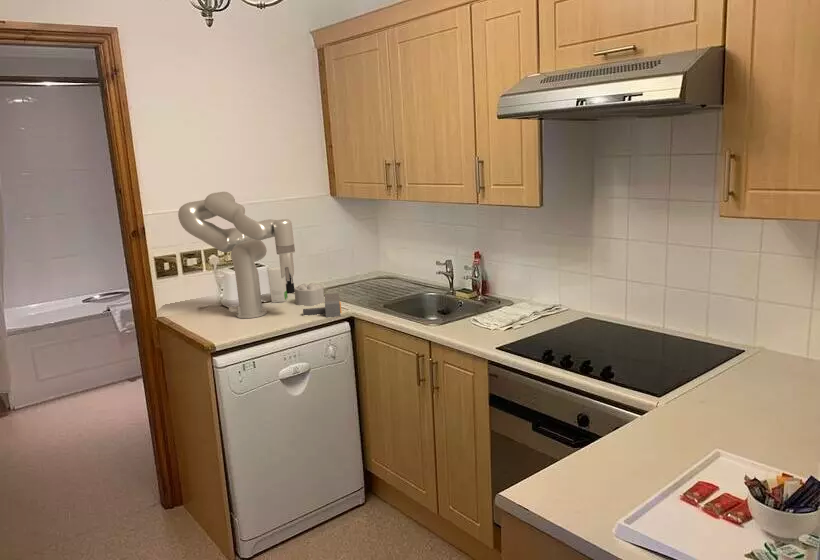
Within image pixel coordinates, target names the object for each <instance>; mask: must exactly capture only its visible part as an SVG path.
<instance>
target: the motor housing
mask: <svg viewBox="0 0 820 560" xmlns="http://www.w3.org/2000/svg"><path fill="white" fill-rule="evenodd" d="M339 301H341V300H340V293H326V294H324V307H325V311H326V314H325V317H326V318H332V317H333V318H334V317H336V318H337V317H341V315H342V314H341V313H340V302H339Z"/></svg>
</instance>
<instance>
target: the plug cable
mask: <svg viewBox="0 0 820 560" xmlns="http://www.w3.org/2000/svg"><path fill="white" fill-rule="evenodd" d="M339 302H340V314H342V301H341V300H340V301H339ZM302 309H303V310H302V314H303V315H308V316H317V314H320V315H326V311H325V306H323V307H313V308H302Z"/></svg>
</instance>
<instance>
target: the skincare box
mask: <svg viewBox="0 0 820 560" xmlns="http://www.w3.org/2000/svg"><path fill="white" fill-rule="evenodd" d="M267 273H268V282H269V289H270V290H269V291H270V298H271V303H275V304H276V303H284V302H286V301H287V300H288V297H289V296H288V294H287V291H286V280H285V276H284V277H283V278H281V269H280V266H275V267H274V266H273V267H269V268H268V269H267Z"/></svg>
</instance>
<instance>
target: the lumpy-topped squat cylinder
mask: <svg viewBox="0 0 820 560" xmlns="http://www.w3.org/2000/svg"><path fill="white" fill-rule="evenodd" d="M294 289H295V292H294V300H295V305H297V306H300V305H304V306H303V307H315V306H314V305H316V306H318V304H319V305H321V304H323V303H322V302H324V303H325V294H324V286H323V285H320V284H316V283H315V282H311V283H309V284H307V283H302V284H299V285H297V286H295V287H294ZM320 303H321V304H320Z"/></svg>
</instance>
